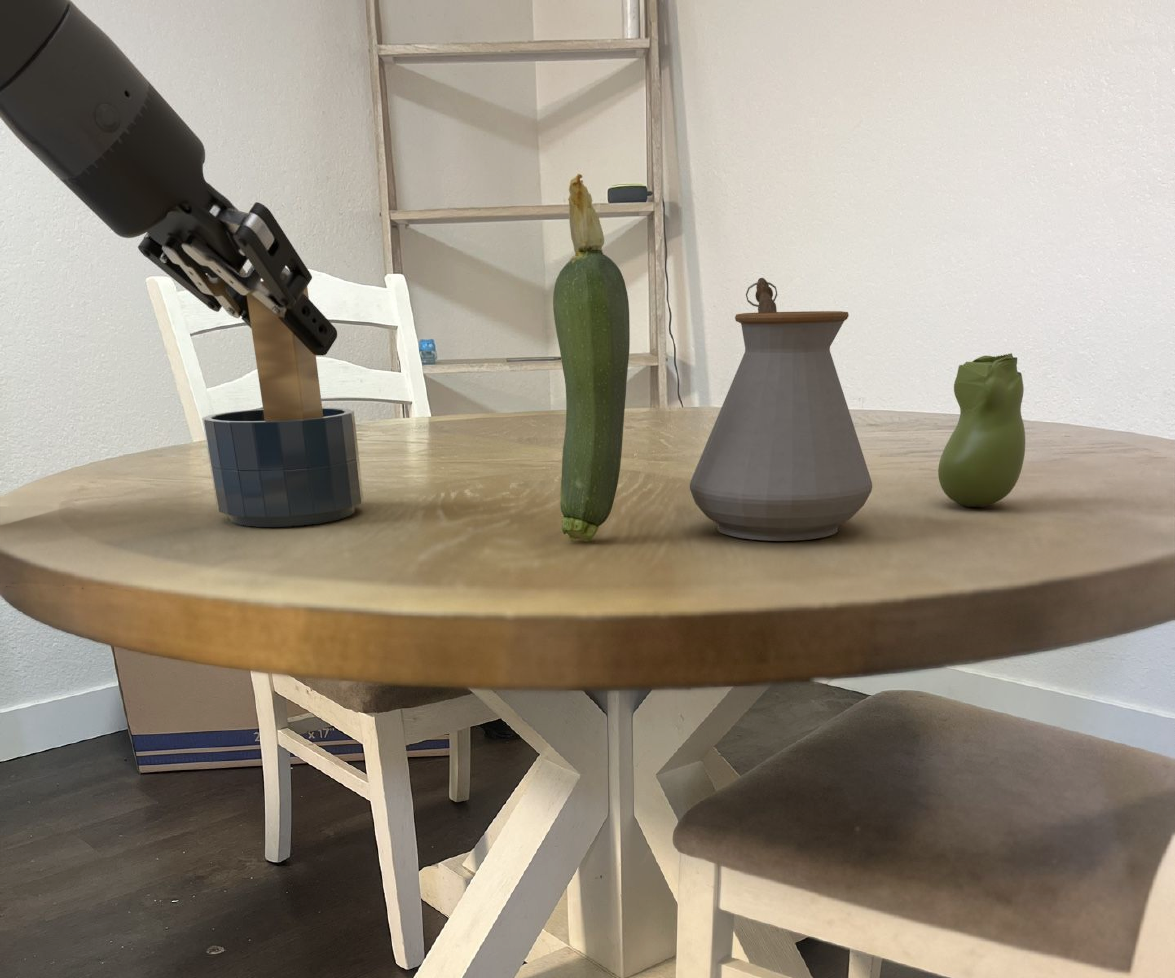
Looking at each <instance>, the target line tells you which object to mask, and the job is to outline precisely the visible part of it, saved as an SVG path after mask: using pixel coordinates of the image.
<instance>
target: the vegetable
mask: <svg viewBox="0 0 1175 978" xmlns="http://www.w3.org/2000/svg"><path fill="white" fill-rule="evenodd" d="M582 178H583V175H582V174H581V173H578V174H577V175H576V176H575V177H574V178H572V179H571V180H570V181H569V186H568V187H569V188H568V192H569V197H568V198H567V200H568V219H569V220H568V221H569V230H570V238H571V241H572V245H573V251H574V253H575V254H574V255H573V256H571V257H570V258H569V260H568V262H567V263H566V264H565V265H564V266H563V267H562V268H561V270H560V271H559V273H558V275H557V277H556V280H555V283H554V288H553V295H552V309H553V319H554V325H555V332H556V338H557V343H558V349H559V352H560V359H561V366H562V373H563V377H564V384H565V401H566V402H565V405H566V407H565V408H566V410H565V412H566V413H565V431H564V439H563V446H562V457H561V478H560V479H561V480H560V503H559V504H560V505H559V506H560V512H561V513H562V516H563V517H562V520H561V530H562V531H561V532H562V533H563V534H564V535H566V534H567V536H568V537H569V541H570V542H574V541H576V540H578V541H579V540H580V541H585V542H586V543H590V542H591V541H592V540H593V538H594V537H595V535H596V534H597V532H598V530H599V527H600V526H602V525H603V524H604V523H605V522H606V520H607V519H608V518H609V516H610V514H611V513H612V509H613V505H614V502H615V498H616V493H617V488H618V486H619V485H618V483H619V478H620V471H621V465H622V464H621V463H622V452H623V440H624V439H623V437H624V425H625V424H624V422H625V409H626V399H627V398H626V397H627V381H628V370H629V361H630V345H631V344H630V343H631V341H630V340H631V339H630V336H631V334H630V333H631V332H630V328H631V327H630V326H631V325H630V304H629V303H630V302H629V296H628V290H627V286H626V282H625V278H624V276H623V274H622V271H621V270H620V268H619V266H618V265H617V264H616V263H615V261H614V260H613V259H611V258H610V257H609V256H607V255H606V254H604V252H603V246H604V244H605V235H604V232H603V228H602V225H601V220H600V217H599V215H598V213H597V212H596V209H595V208H594V206H593V205H592V204H593V203H592V202H593V197H592V195H591V193H590V192H589V190H588V187H587V186H585V185H584V181H583V180H582Z"/></svg>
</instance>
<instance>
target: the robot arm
mask: <svg viewBox="0 0 1175 978" xmlns="http://www.w3.org/2000/svg"><path fill="white" fill-rule="evenodd" d="M0 119H1V121H3V123H4V124H5V125H6V127H7V128H8V129H9V130H10V131H11V133H13V134H14V136H15V137H16V138H17V139H18V140H19V141H20V142H21V143H22V144H23V145H24V147H25V148H27V150H29V151H30V152H31V153H32V154H33V155H34V156H35V157H36V158H37V159H38V160H39V161H40V162H41V163H42V164H43V165H44V166H45V167H46V168H47V169H48V170H49V171H50V172H51V173H52V174H54V175H55V177H57V178H58V179H59V180H60V181H61V182H62V184H64V185H65V187H67V188H68V189H69V190H70V191H71V192H72V193H73V194H74V195H75V196H76V197H77V198H78V199H79V200H80V201H81V202H82V203H84V204H85V205H86V206H87V207H88V209H89V210H90V211H92V212H93V213H94V215H96V216H97V218H99V219H100V220H101V221H102V222H103V223H104V224H105V225H106V226H107V227H108V228H109V229H110V230H111V231H113V232H114V233H115V234H116V236H119V237H121V238H125V239H133V238H137V237H140V236H143V235H144V236H143V239H142V240H141V242H140V243H139V244H138V246H137V249H138V251H139V252H140V253H141V254H142V255H143V256H144V257H145V258H147V259H148V260H149V261H150V262H152V263H153V264H154V265H155V266H157V267H158V268H159V269H160V270H162V271H163V272H164V273H165V274H167V275H168V276H169V277H170V278H171V279H173V280H174V281H175V282H177V284H179V285H180V286H182V287H183V288H184V289H185V290H186V291H188V292H189V293H190V294H192V295H193V296H194V297H195V298H197V300H199V301H200V302H202V303H203V304H204V305H205V306H206V307H207V308H208V309H210V310H212V311H214V312H215V313H219V312H220V311H221V309H222V308H223V310H224V311H225V312H226V313H227V314H228V315H229V316H231V317H233V318H235V319H240V317H241V320H242V321H243V322H244V323H245V324H246V325H247V326H248V327H249V329H251V322H250V315H249V308H248V301H247V295H248V294H251V295H253V296H254V297H256V298H257V299H258V300H259V301H260V302H261V303H263V304H264V305H265V306H266V307H267V308H268V309H270V310H271V311H272V312H273V313H274V314H275V315H277V316H279V317H278V318H279V319H280V320H281V321H282V322H283V323H284V324H285V325H286V326H287V327H288V328H289V329H290V330H291V331H292V332H293V333H294V335H295V336H296V337H297V338H298V339H299V340H300V341H301V342H302V343H303V344H304V345H305V346H306V347H307V348H308V349H309V350H310V351H311V352H312V353H313V354H314V355H316V356H326V355H327V354H328V353H329V351H330V349H331V347H332V346H333V345H334V343H335V342H336V340H337V338H338V330H337V328H336V327H335V326H334V324H332V323H331V321H330V320H329V319H328V318H327V317H326V316H325V315H324V314H323V313H322V312H321V311H320V309H319V308H318V307H317V306H316V305H315V304H314V303H313V302H312V300H310V299H308V298H307V296H306V295H305V294H304V293H303V292H304V290H305V289H306V287H307V288H308V286H309V284H310V283H311V281H312V279H313V276H312V274H311V272H310V270H309V269H308V267H307V266H306V264H305V263H304V261H303V260H302V258H301V256H300V255H299V254H298V252H297V250H296V248H295V247H294V246H293V244H292V242H291V241H290V240H289V238H288V236H287V235H286V233H285V231H284V230H283V228H282V227H281V226H280V224H279V223H278V221H277V219H276V217H275V216H274V215H273V213H272V212H271V210H270V209H269V208H268V207H267V206H266V205H264V204H263V203H261V202H258V201H257V202H254V204H253V205H252V207H251V208H250V209H249V211H248V212H244V211H242V210H239V209H238V208H237V207H236V206H235V205H233V203H232V202H231V201H230V200H229V198H227V197H226V196H225V195H224V194H222V193H221V192H220V191H218V190H217V189H216V188H215V187H213V186H212V185H211V184H210V183H209V182H207V181H206V179H205V176H204V164H205V161H206V149H205V146H204V143H203V142H202V140H201V139H200V138H199V136H197V134H196V133H194V131H193V130H192V129H191V127H190V126H189V125H188V124H187V123H186V122H185V121H184V119H182V118H181V116H180V115H179V114H178V112H176V111H175V109H173V107H172V106H171V105H170V104H169V103H168V102H167V100H166V99H165V98H164V97H163V95H161V94H160V92H159V91H158V90H157V89H156V88H155V87H154V86H153V85H152V83H151V82H150V81H149V80H148V79H147V78H146V77H145V75H143V73H142V72H141V71H140V70H139V69H138V68H137V67H136V66H135V64H134V63H133V62H132V61H131V60H130V58H128V56H127V55H126V54H125V53H124V52H123V51H122V49H121V48H120V47H119V46H118V45H117V44H116V43H115V42H114V41H113V39H111V38H110V36H109V35H108V34H107V33H105V31H103V30H102V29H101V28H100V27H99V26H98V25H97V24H96V23H95V22H93V21H92V20H91V19H90V18H89V17H88V16H87V15H86V14H85V13H84V12H83V11H81V10H80V9H79V7H78V6H77V5H75V3H74V2H73V1H72V0H0ZM247 261H248V262H249V263H250V264H251V265H250V267H249V269H248V270H247V271H246V270H245V269H244V266H245V265H246V263H247ZM261 281H264V282H265V284H266V285H267V287H268V288H269V290H270V291H271V292H272V293H271V292H270V291H269V290H267V289H266V288H265V287H264V286H263V285H262V284H261Z"/></svg>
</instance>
